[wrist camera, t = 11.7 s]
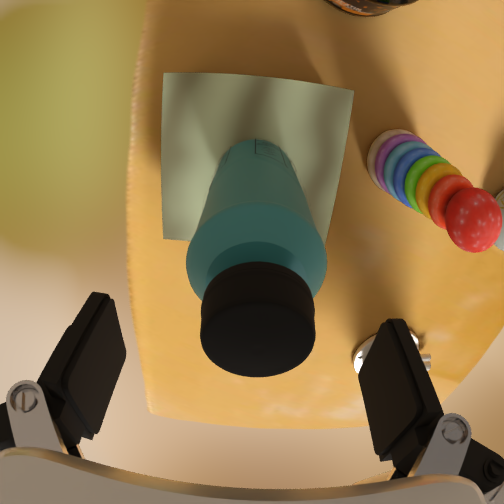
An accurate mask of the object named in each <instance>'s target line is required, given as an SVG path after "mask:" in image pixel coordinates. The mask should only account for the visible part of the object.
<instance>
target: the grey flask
mask: <svg viewBox="0 0 504 504" xmlns="http://www.w3.org/2000/svg"><path fill="white" fill-rule="evenodd" d="M495 200H496V201H497V203H498V205H499V207H500V210H501V213H502V229H501V232H500V235H499V237H498V239H497V240H496V242H495V243H494V244H495V246H497V247H498V248H499V249H501V250H503V251H504V189H503V190H502V191H501V192H500V193H499V194H498V195H497V196H496V198H495Z"/></svg>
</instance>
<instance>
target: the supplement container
mask: <svg viewBox="0 0 504 504" xmlns="http://www.w3.org/2000/svg"><path fill="white" fill-rule="evenodd" d="M324 1H326V2H327V3H328V4H329V5H331V6H332V7H334V8H336V9H337V10H339V11H342V12H344V13H347V14H350V15H353V16H358V17H375V16H379V15H382V14H385V13H387V12H389V11H390V10H393V9H395V8H398V7H400V6H405V5H409V4H412V3H415V2H416V1H418V0H324Z"/></svg>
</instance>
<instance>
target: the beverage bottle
mask: <svg viewBox="0 0 504 504" xmlns="http://www.w3.org/2000/svg"><path fill="white" fill-rule="evenodd" d="M260 139H261V138H260ZM278 146H279V145H278ZM278 146H276V145H275V144H273V143H271V142H270V141H269V142H268V141H267V140H266V141H265V140H258V139H256V138H255V139H252V140H246V141H243V142H240V143H238V144H236V145H234V146H233V147H231V146H230V149H229V150H228V151H226V152H225V153H223V154H224V155H223V156H222V159H221V161H220V163H219V162H218V163H219V164H218V163H217V164H218V169H217V171H215V172H214V174H215V173H216V174H215V175H214V174H213V175H214V177H213V178H212V179H213V180H212V183H211V185H210V188H209V193H208V196H207V199H206V201H205V202H206V203H205V206H204V209H203V207H202V211H203V212H202V215H201V217H200V220H199V223H198V226H197V229H196V232H195V234H194V236H193V237H192V239H191V242H190V245H189V247H188V251H187V256H186V269H187V274H188V278H189V281H190V284H191V287H192V288H193V290H194V292H195V293H196V295H197V296H198V297H199V298H200V299H201V300H202V305H201V318H202V319H201V330H200V339H201V344H202V347H203V350H204V352H205V354H206V355H207V356H208V358H209V359H210V360H211V361H212V362H213V363H215V364H216V365H217V366H219V367H220V368H222V369H224V370H226V371H228V372H230V373H233V374H237V375H241V376H247V377H269V376H274V375H278V374H282V373H284V372H287V371H289V370H292V369H293V368H295V367H297V366H298V365H300V364H301V363H302V362H303V361H304V360H305V359H306V358H307V357H308V356H309V354H310V353H311V351H312V349H313V346H314V342H315V334H316V333H315V322H314V316H315V308H314V301H313V298H314V297H315V295H316V294H317V292H318V291H319V289H320V287H321V285H322V283H323V281H324V278H325V275H326V270H327V254H326V250H325V246H324V243H323V241H322V238H321V236H320V234H319V233H318V231H317V229H316V226H315V223H314V220H313V218H312V215H311V212H310V209H309V207H308V202H307V199H306V197H305V195H304V192H303V190H302V187H301V185H300V183H299V180H298V177H299V176H298V177H297V176H296V174H297V173H298V172H297V170H296V172H297V173H295V171H294V169H293V166H292V163H291V162H292V161H291V162H290V160H289V158H288V156H287V155H288V154H287V153H286V154H287V155H286V154H285V152H284V151H283V150H282V149H281V148H280V147H278ZM290 159H291V158H290ZM216 167H217V166H216ZM294 168H295V167H294ZM295 169H296V168H295ZM300 180H301V179H300ZM300 182H302V181H300ZM303 187H304V186H303ZM304 190H305V189H304ZM305 191H306V190H305ZM203 202H204V201H203ZM310 205H311V204H310Z"/></svg>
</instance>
